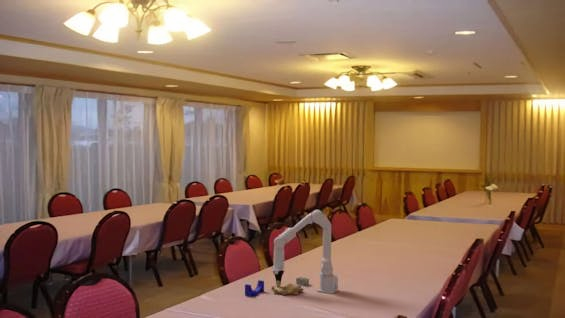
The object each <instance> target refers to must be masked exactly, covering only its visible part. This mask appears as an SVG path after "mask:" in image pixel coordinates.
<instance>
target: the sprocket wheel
mask: <svg viewBox="0 0 565 318" xmlns="http://www.w3.org/2000/svg"><path fill="white" fill-rule="evenodd" d="M271 290H272V292H273V293H274V294H278V293H282V294H285V295H284V296H287V295H286V294H293V295H297V294H299V293H300V292H301V293H303V291H304V287H302V286H301V285H297V284H293V283H287V284H286V283H284V284H283V283H281V284H280V281H279V280H277V284H276V285H272V286H271ZM298 292H299V293H298ZM282 294H281V295H282Z"/></svg>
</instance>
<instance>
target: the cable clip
mask: <svg viewBox="0 0 565 318" xmlns="http://www.w3.org/2000/svg"><path fill="white" fill-rule="evenodd" d="M264 292H265V280H260V279H259V280H257V284H256V287H255V288H254V289H253V288H252V285H251V284H247V283H246V284H244V296H245V297H249V298H253V297H256V296H259V295H260V294H261V293H264Z"/></svg>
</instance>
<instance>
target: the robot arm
mask: <svg viewBox="0 0 565 318" xmlns="http://www.w3.org/2000/svg"><path fill="white" fill-rule="evenodd" d="M313 223H314V224H317V225H319V226H320V228H322V260H321V263H320V271H321V272H320V273H319V289H316V291H317V292H322V293H327V294H331V295H332V294H334V293H336V292H338V291H339V278H338V277H339V276H337V275H334V267H333V264H332V223H331V221H330V220H329V218H328V217H327V216H326V214H325V213H324V212H323V211H322V210H320V209H314V210H313V211H312V212H310V213H308V214H306V216H305V217H303V218H302V219H301V220H300V221H298V222H297V223H296V224H295V225H294V226H293V227H288V228H287V227H286V228H285V230H284V231H283V232H282V233H281V234H278V236H277V237H275V238H274V240H273V246H274V247H273V266H271V267H270V268H271V269H273V271H272V273H273V275H274V277H275V278H274V279H275V284H276V285H277V280H279V281H280V284H282V278H283V275H284V274H285V273H284V272H285V245H286V244H288V243H289V242H290V241H292V239H294V238H296V236H297V232H299V231H300V230H302V229H303V228H304V227H306V226H307V225H309V224H313Z"/></svg>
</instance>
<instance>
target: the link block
mask: <svg viewBox="0 0 565 318" xmlns="http://www.w3.org/2000/svg"><path fill="white" fill-rule="evenodd" d="M295 280H296V281H295V285H297V284H298V285H300V286H301V285H302V286H303V287H306V285H307V286H309V284H310V279H309V278H307V277H302V276H299V277H297V278H296V279H295ZM302 286H301V287H302Z"/></svg>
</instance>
